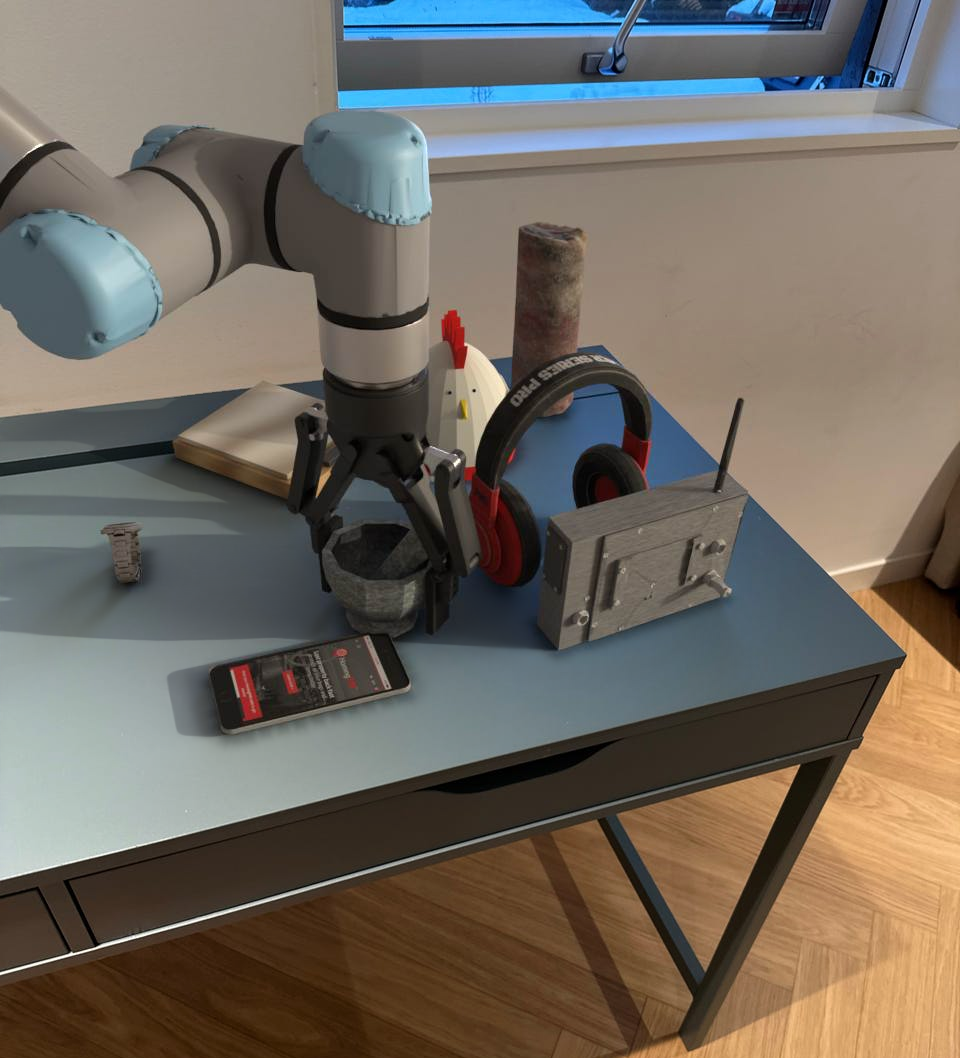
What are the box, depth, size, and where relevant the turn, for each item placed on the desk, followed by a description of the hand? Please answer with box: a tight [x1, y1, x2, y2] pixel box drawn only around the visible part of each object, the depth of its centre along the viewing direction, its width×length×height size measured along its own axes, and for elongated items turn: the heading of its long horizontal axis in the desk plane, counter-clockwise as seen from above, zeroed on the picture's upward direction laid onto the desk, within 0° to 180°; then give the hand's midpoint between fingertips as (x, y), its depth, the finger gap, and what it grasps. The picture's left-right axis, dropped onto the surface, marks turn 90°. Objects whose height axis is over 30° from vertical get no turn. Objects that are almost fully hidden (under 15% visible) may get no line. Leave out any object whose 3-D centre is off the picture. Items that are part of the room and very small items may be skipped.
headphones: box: [468, 351, 653, 589], centre depth 82 cm, size 18×10×20 cm, turn 122°
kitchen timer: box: [423, 309, 516, 482], centre depth 97 cm, size 14×14×15 cm
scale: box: [172, 380, 340, 500], centre depth 100 cm, size 17×15×3 cm
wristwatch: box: [100, 521, 143, 584], centre depth 83 cm, size 4×6×5 cm, turn 12°
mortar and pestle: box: [322, 493, 436, 639], centre depth 78 cm, size 11×9×12 cm
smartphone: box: [208, 632, 412, 735], centre depth 75 cm, size 7×1×15 cm
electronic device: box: [536, 397, 749, 651], centre depth 76 cm, size 17×7×20 cm, turn 117°
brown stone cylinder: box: [510, 221, 588, 418], centre depth 103 cm, size 8×7×20 cm
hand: (385, 604), depth 81 cm, fingers closed on mortar and pestle, 10 cm apart
